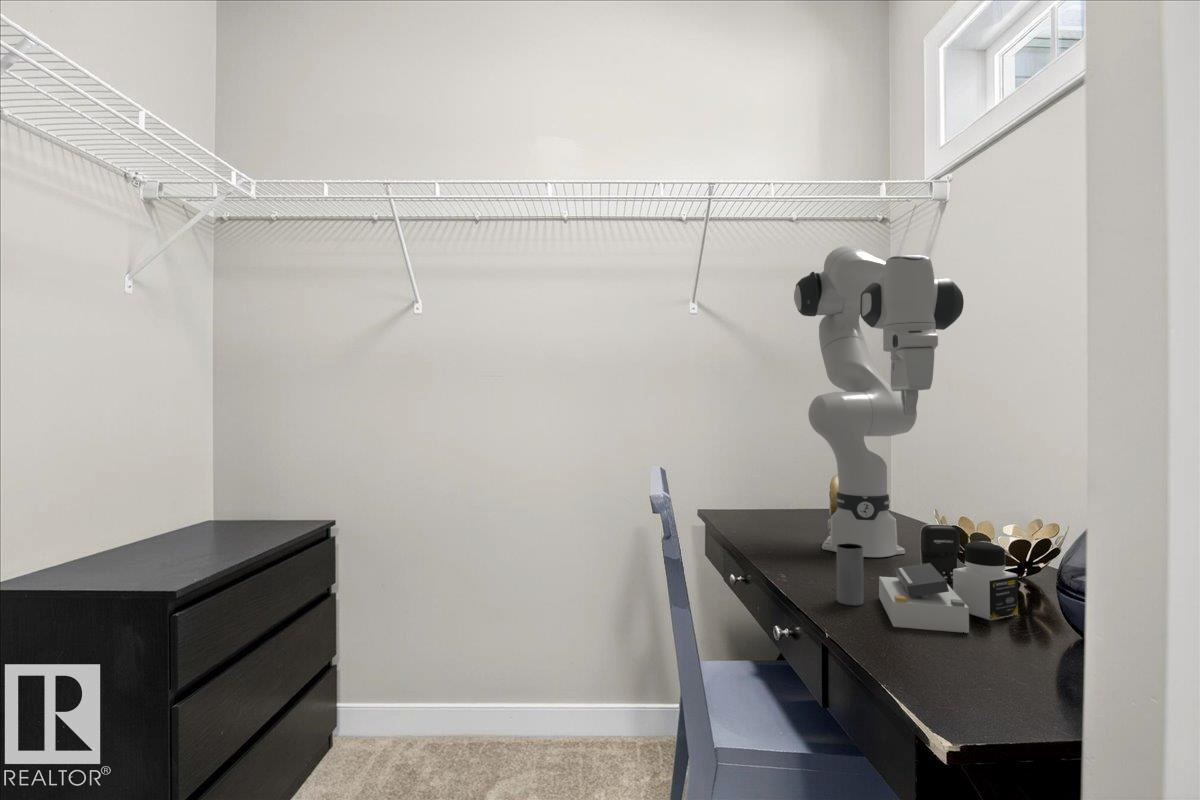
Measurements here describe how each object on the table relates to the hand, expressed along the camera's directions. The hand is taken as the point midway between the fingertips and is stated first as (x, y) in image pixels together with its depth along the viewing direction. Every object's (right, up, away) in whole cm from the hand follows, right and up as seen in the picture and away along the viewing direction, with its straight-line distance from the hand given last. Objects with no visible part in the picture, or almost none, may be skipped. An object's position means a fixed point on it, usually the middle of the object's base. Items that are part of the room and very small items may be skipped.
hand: (909, 415), depth 120 cm
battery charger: (+12, -34, +11) cm, 38 cm away
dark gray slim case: (-2, -28, -9) cm, 30 cm away
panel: (-2, -34, -9) cm, 35 cm away
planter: (-12, -34, -2) cm, 36 cm away
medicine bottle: (+9, -34, -8) cm, 36 cm away
